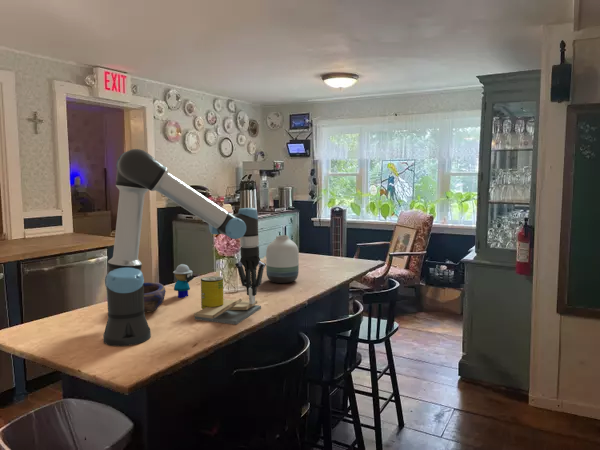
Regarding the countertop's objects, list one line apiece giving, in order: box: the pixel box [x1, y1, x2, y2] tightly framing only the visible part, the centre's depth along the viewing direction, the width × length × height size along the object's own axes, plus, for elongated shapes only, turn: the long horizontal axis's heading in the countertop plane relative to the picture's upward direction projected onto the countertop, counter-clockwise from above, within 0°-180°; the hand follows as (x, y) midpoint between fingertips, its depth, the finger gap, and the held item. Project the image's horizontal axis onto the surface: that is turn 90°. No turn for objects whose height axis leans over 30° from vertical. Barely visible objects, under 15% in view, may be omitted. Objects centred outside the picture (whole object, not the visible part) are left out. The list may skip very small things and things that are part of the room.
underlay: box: [194, 298, 262, 325], centre depth 186 cm, size 22×18×2 cm
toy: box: [172, 263, 194, 299], centre depth 211 cm, size 8×9×15 cm
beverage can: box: [200, 275, 224, 310], centre depth 190 cm, size 9×9×12 cm
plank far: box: [229, 300, 258, 310], centre depth 190 cm, size 10×8×1 cm
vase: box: [265, 234, 300, 284], centre depth 241 cm, size 17×17×24 cm
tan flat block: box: [214, 298, 243, 317], centre depth 179 cm, size 10×8×1 cm
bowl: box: [143, 282, 167, 313], centre depth 190 cm, size 18×18×10 cm
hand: (252, 303), depth 189 cm, fingers closed
